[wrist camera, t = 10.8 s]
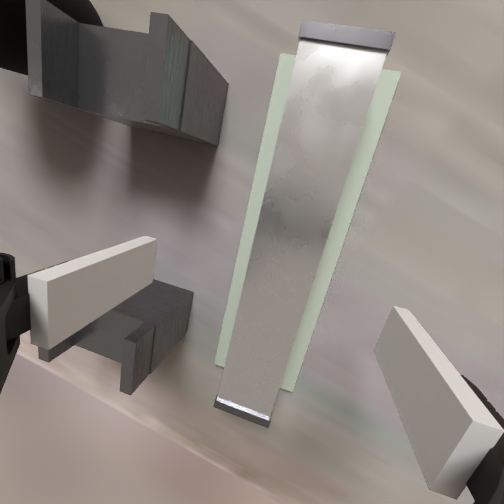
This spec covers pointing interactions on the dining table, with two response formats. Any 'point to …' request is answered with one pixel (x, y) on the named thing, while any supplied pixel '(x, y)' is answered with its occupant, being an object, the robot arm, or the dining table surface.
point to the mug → (15, 32)
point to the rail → (299, 206)
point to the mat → (340, 222)
